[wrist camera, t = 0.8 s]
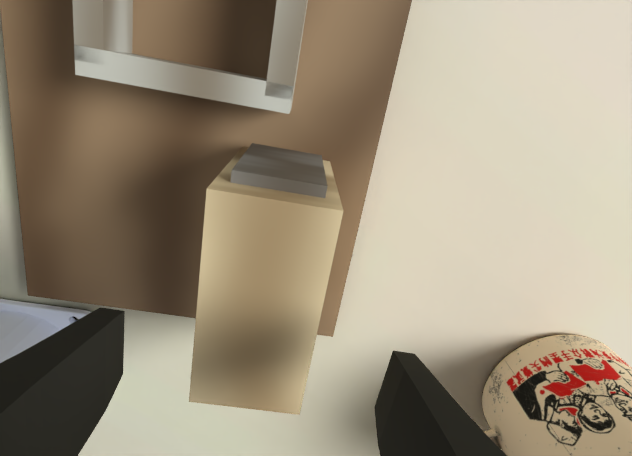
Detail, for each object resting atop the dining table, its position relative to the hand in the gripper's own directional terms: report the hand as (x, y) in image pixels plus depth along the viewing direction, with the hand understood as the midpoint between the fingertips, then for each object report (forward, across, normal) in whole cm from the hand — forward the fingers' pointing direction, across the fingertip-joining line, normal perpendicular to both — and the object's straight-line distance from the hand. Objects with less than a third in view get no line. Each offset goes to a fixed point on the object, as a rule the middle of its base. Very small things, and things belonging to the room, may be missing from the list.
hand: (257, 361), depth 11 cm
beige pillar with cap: (+9, 0, 0) cm, 9 cm away
